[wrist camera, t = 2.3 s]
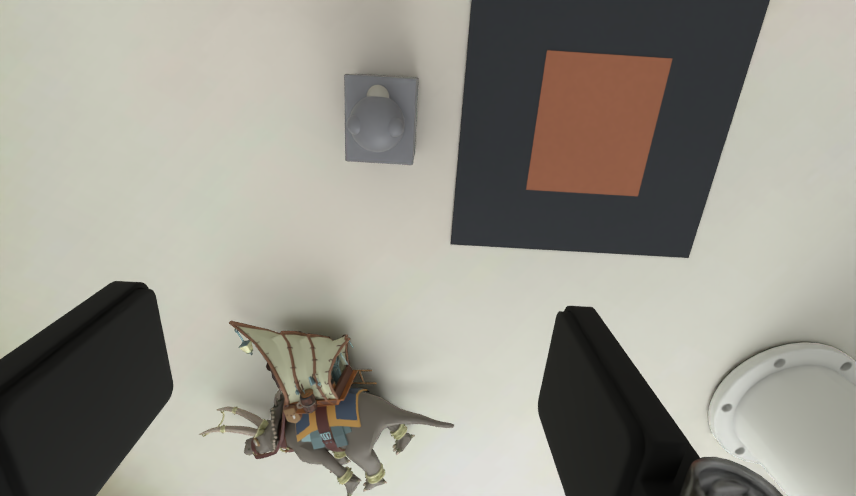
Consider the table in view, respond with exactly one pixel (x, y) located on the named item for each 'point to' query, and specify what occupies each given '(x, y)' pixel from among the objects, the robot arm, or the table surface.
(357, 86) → the grey bear
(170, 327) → the table surface
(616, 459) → the robot arm
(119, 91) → the table surface
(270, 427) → the figurine
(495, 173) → the mat
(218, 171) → the table surface
